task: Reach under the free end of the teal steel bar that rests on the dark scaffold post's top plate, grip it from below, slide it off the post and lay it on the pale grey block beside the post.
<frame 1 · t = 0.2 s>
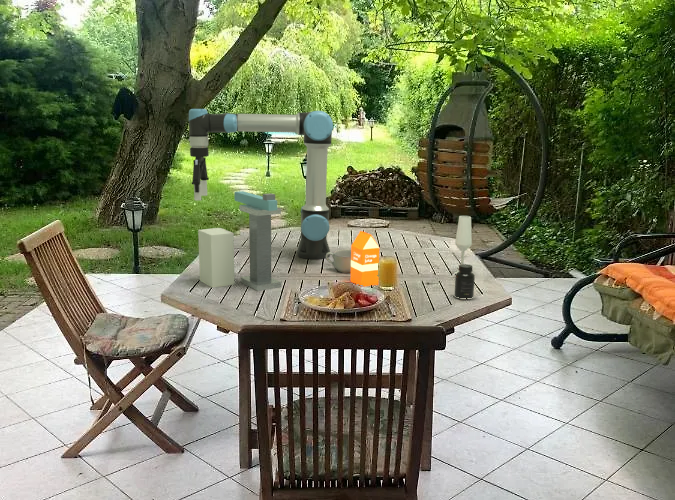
hand: (201, 197, 271), 28 cm above the table, tool pointing down, fingers open, 13 cm apart
standard post: (260, 284, 245), on the table
orange juice: (364, 283, 251), on the table
teacup: (342, 271, 268), on the table
ledger bar: (255, 205, 242), point 30 cm above the table, touching standard post
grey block: (216, 282, 247), on the table
supplement bottle: (463, 298, 234), on the table
champagne flute: (461, 274, 266), on the table
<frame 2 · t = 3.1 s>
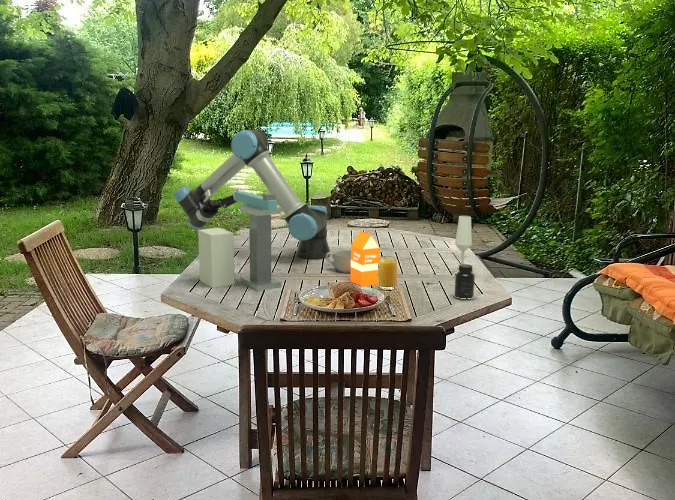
hand: (224, 191, 263), 32 cm above the table, tool pointing upward, fingers open, 13 cm apart
nothing on the table moved.
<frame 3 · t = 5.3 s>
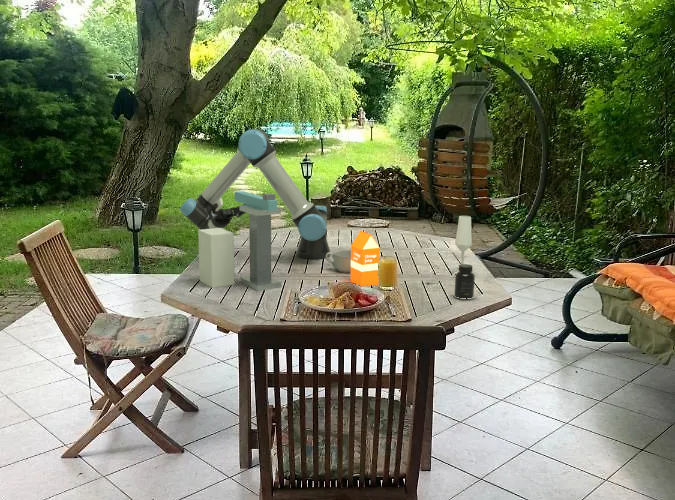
hand: (237, 200, 252), 30 cm above the table, tool pointing upward, fingers open, 13 cm apart
nothing on the table moved.
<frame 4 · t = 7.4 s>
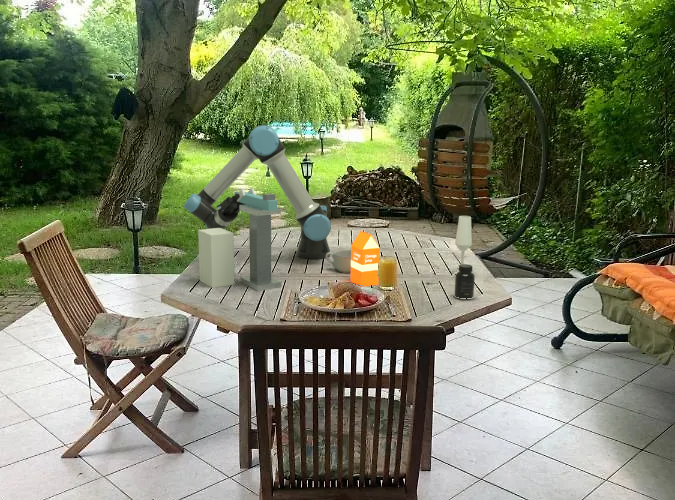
hand: (248, 191, 245), 35 cm above the table, tool pointing upward, fingers closed on ledger bar, 3 cm apart
ledger bar: (255, 205, 242), point 30 cm above the table, touching gripper, standard post
everything else where it was.
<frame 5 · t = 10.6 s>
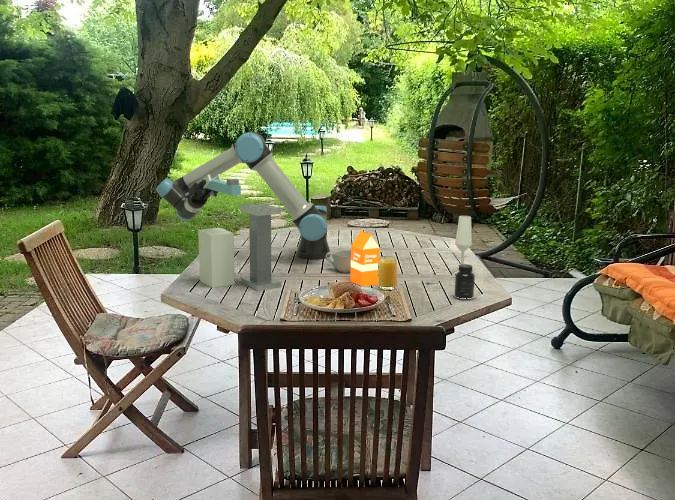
hand: (214, 177, 248), 39 cm above the table, tool pointing upward, fingers closed on ledger bar, 3 cm apart
ledger bar: (220, 190, 245), point 35 cm above the table, touching gripper
everything else where it was.
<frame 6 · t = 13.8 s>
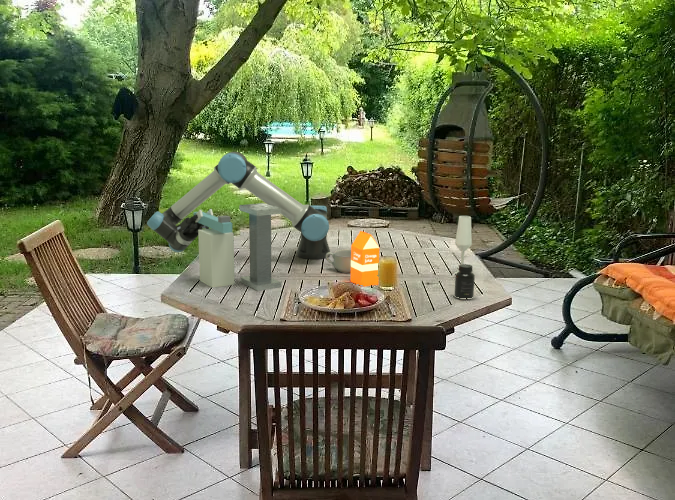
hand: (206, 212, 248), 26 cm above the table, tool pointing upward, fingers closed on ledger bar, 3 cm apart
ledger bar: (212, 226, 245), point 21 cm above the table, touching gripper
everything else where it was.
when the fingers open (26 cm above the table, at t = 13.8 s): ledger bar drops 1 cm, resting on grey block.
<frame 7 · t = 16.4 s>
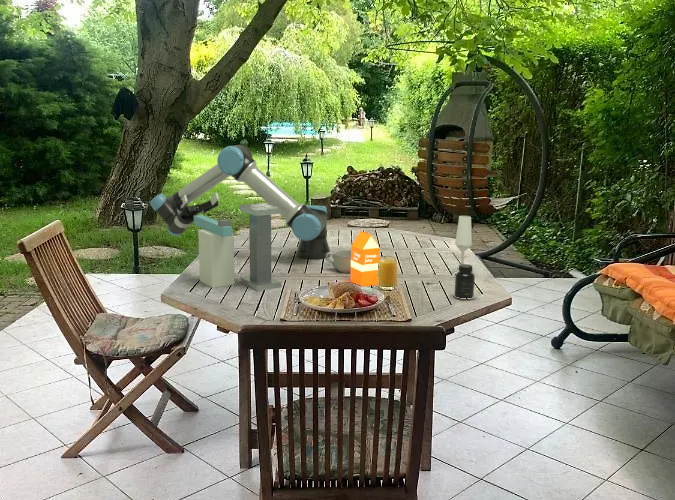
hand: (201, 197, 261), 30 cm above the table, tool pointing upward, fingers open, 13 cm apart
ledger bar: (212, 230, 245), point 20 cm above the table, touching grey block
everything else where it was.
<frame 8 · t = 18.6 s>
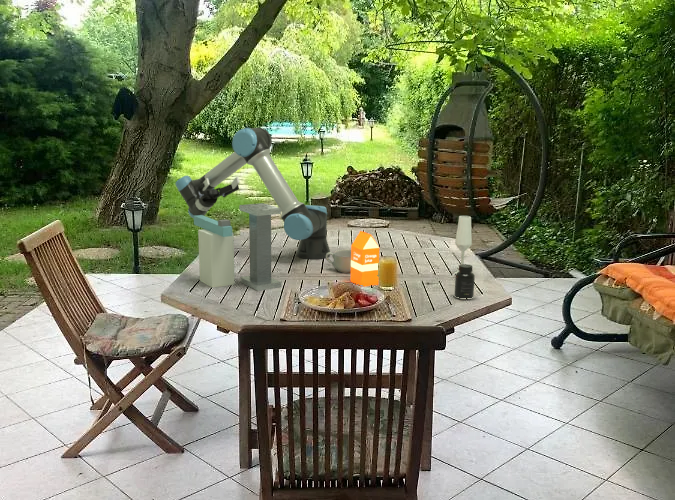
hand: (223, 180, 269), 36 cm above the table, tool pointing upward, fingers open, 13 cm apart
nothing on the table moved.
at the end: ledger bar inside the target area on the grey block (0.9 cm from its centre), point 20.0 cm above the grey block's base; ledger bar tilted 0°; the gripper is holding nothing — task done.
